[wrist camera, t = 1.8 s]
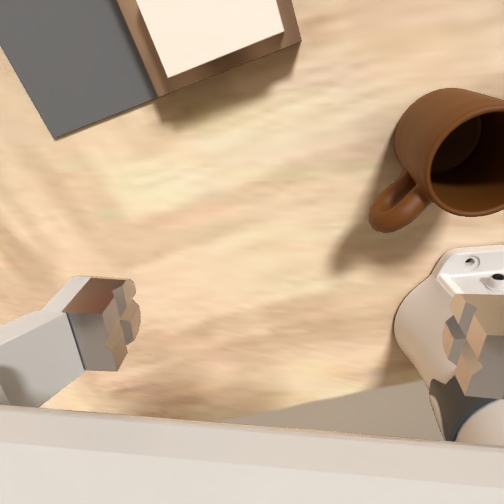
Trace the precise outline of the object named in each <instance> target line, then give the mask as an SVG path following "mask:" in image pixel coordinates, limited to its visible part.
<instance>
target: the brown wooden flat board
mask: <svg viewBox="0 0 504 504" xmlns="http://www.w3.org/2000/svg"><path fill="white" fill-rule="evenodd" d="M276 1H277V5H278V9H279V12H280V16H281V20H282V23H283V27H284V31H285V32H282V33H280V34H277V35H275V36H272V37H270V38H267V39H265V40H262V41H260V42H257V43H255V44H252V45H250V46H247V47H245V48H243V49H240V50H238V51H235V52H233V53H230V54H228V55H225V56H223V57H220V58H218V59H215V60H213V61H210V62H208V63H205V64H203V65H200V66H198V67H195V68H193V69H190V70H188V71H185V72H183V73H180V74H178V75H176V76H172V77H169V78H168V77H167V74H166V72H165V69H164V67H163V65H162V62H161V60H160V57H159V55H158V52H157V50H156V48H155V45H154V43H153V40H152V38H151V35H150V33H149V30H148V28H147V26H146V23H145V21H144V18H143V16H142V13H141V11H140V9H139V6H138V4H137V1H136V0H117V2H118V4H119V6H120V9H121V11H122V13H123V16H124V18H125V20H126V23H127V25H128V27H129V30H130V32H131V34H132V37H133V39H134V41H135V44H136V46H137V48H138V51H139V53H140V55H141V58H142V60H143V62H144V65H145V67H146V69H147V72H148V74H149V76H150V79H151V81H152V83H153V86H154V88H155V90H156V93H157V95H158V97H160V96H163V95H165V94H168V93H170V92H173V91H176V90H178V89H181V88H183V87H186V86H188V85H191V84H193V83H196V82H198V81H201V80H204V79H206V78H209V77H211V76H214V75H216V74H219V73H221V72H224V71H227V70H229V69H232V68H234V67H237V66H239V65H242V64H244V63H247V62H249V61H252V60H255V59H257V58H260V57H262V56H265V55H267V54H270V53H272V52H275V51H278V50H280V49H283V48H285V47H288V46H290V45H293V44H295V43H298V42H300V41H302V40H301V36H300V32H299V28H298V25H297V21H296V17H295V13H294V9H293V5H292V1H291V0H276Z"/></svg>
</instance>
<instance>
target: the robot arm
mask: <svg viewBox="0 0 504 504" xmlns="http://www.w3.org/2000/svg"><path fill="white" fill-rule="evenodd" d="M469 258H472V259H471V260H470V261H469V262H465V261H466V260H467V259H469ZM135 294H136V289H135V285H134V282H133V281H132V280H131V279H128V278H113V277H98V276H95V277H94V276H74V277H72V278H71V279H70V280H69V281H68V282H67V283H66V284H65V285H64V286H63V288H62V289H61V290H60V291H59V292H58V293H57V294H56V295H55V296H54V297H53V298H52V299H51V300H50V301H49V302H48V303H47V304H46V305H45V306H44V307H43V309H42V310H41V311H33V312H31V313H28V314H26V315H24V316H22V317H20V318H17V319H15V320H13V321H11V322H8V323H6V324H4V325H2V326H0V504H504V244H503V245H490V246H477V247H464V248H454V249H451V250H449V251H447V252H446V253H445V254H444V255H443V256H442V257H441V258H440V260H439V261H438V263H437V265H436V266H435V268H434V270H433V272H432V274H431V275H430V276H429V277H428V278H427V279H425V280H424V281H423V282H422V283H421V284H419V285H418V286H417V287H416V288H415V289H413V290H412V291H411V292H410V293H409V294H408V296H407V297H406V298H405V299H404V301H403V302H402V304H401V305H400V307H399V309H398V312H397V314H396V317H395V323H394V333H395V338H396V341H397V343H398V345H399V347H400V349H401V350H402V351H403V352H404V354H405V355H406V356H407V357H408V358H409V359H410V360H411V362H412V363H413V365H414V366H415V367H416V369H417V370H418V372H419V374H420V375H421V377H422V379H423V381H424V382H425V384H426V386H427V388H428V389H429V393H430V402H431V406H432V409H433V411H434V415H435V417H436V420H437V423H438V426H439V428H440V431H441V433H442V436H443V438H444V441H440V440H428V439H416V438H404V437H392V436H380V435H368V434H356V433H344V432H332V431H319V430H307V429H295V428H282V427H270V426H257V425H245V424H232V423H220V422H207V421H195V420H183V419H170V418H158V417H146V416H133V415H121V414H109V413H96V412H84V411H72V410H59V409H47V408H38V407H40V406H41V405H42V404H43V403H45V402H46V401H47V400H49V399H50V398H51V397H53V396H54V395H55V394H57V393H58V392H59V391H60V390H62V389H63V388H64V387H66V386H67V385H68V384H70V383H71V382H72V381H74V380H75V379H76V378H77V377H79V376H80V375H81V374H83V373H84V372H85V371H84V370H91V371H116V372H117V371H118V369H119V367H120V365H121V364H122V362H123V360H124V358H125V356H126V355H127V353H128V352H127V348H126V345H128V344H129V343H131V342H132V341H134V340H135V338H136V336H137V334H138V331H139V327H140V309H139V305H138V304H137V303H136V302H135V301H134V300H133V299H132V298H133V297H134V295H135Z"/></svg>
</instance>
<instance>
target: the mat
mask: <svg viewBox="0 0 504 504" xmlns="http://www.w3.org/2000/svg"><path fill="white" fill-rule="evenodd" d="M0 46H1V47H2V49H3V51H4V53H5V54H6V56H7V58H8V60H9V61H10V63H11V65H12V67H13V68H14V70H15V72H16V74H17V75H18V77H19V79H20V81H21V82H22V84H23V86H24V88H25V89H26V91H27V93H28V95H29V97H30V98H31V100H32V102H33V104H34V105H35V107H36V109H37V111H38V112H39V114H40V116H41V118H42V119H43V121H44V123H45V125H46V126H47V128H48V130H49V132H50V133H51V135H52V137H53V138H55V137H58V136H60V135H63V134H65V133H68V132H71V131H73V130H76V129H78V128H81V127H83V126H86V125H88V124H91V123H93V122H96V121H99V120H101V119H104V118H106V117H109V116H111V115H114V114H116V113H119V112H122V111H124V110H127V109H129V108H132V107H134V106H137V105H139V104H142V103H144V102H147V101H150V100H152V99H155V98H157V97H158V95H157V93H156V90H155V88H154V86H153V83H152V81H151V79H150V76H149V74H148V72H147V69H146V67H145V65H144V62H143V60H142V58H141V55H140V53H139V51H138V48H137V46H136V44H135V41H134V39H133V37H132V34H131V32H130V30H129V27H128V25H127V23H126V20H125V18H124V16H123V13H122V11H121V9H120V6H119V4H118V2H117V0H0Z"/></svg>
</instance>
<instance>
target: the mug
mask: <svg viewBox="0 0 504 504" xmlns="http://www.w3.org/2000/svg"><path fill="white" fill-rule="evenodd" d="M394 146H395V152H396V156H397V158H398V160H399V162H400V164H401V165H402V167H403V168H404V171H403V172H402V174H401V175H400V177H399V178H398V179H397V180H396V181H395V182H394V183H393V184H391V185H390V186H389V187H388V188H386V189H385V190H384V191H383V192H382V193H381V194H380V195H379V196H378V197H377V198H376V200H375V201H374V203H373V204H372V206H371V208H370V211H369V223H370V225H371V226H372V228H373V229H375V230H376V231H379V232H383V233H388V232H394V231H396V230H398V229H401V228H403V227H404V226H406V225H408V224H409V223H411V222H412V221H413V220H414V219H415V218H416V217H417V216H418V215H419V214H420V213H421V212H422V211H423V210H424V209H425V208H426V207H427V206H428V205H430V204H431V203H433V202H434V203H435V204H437V205H438V206H439V207H440V208H442V209H443V210H445V211H447V212H449V213H452V214H454V215H458V216H465V217H477V216H485V215H489V214H493V213H496V212H499V211H501V210H503V209H504V100H501V99H498V98H494V97H491V96H487V95H484V94H480V93H476V92H472V91H468V90H465V89H459V88H445V89H439V90H436V91H433V92H430V93H428V94H426V95H424V96H422V97H421V98H419V99H418V100H416V101H415V102H414V103H413V104H412V105H411V106H410V107H409V108H408V109H407V110H406V111H405V113H404V114H403V116H402V117H401V119H400V121H399V123H398V126H397V128H396V132H395V138H394Z"/></svg>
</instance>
